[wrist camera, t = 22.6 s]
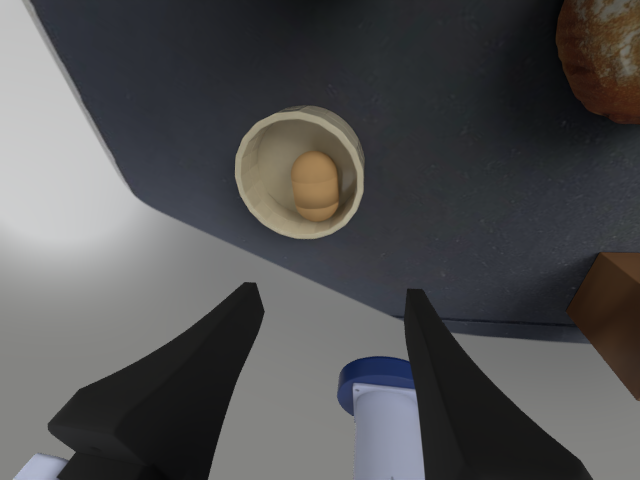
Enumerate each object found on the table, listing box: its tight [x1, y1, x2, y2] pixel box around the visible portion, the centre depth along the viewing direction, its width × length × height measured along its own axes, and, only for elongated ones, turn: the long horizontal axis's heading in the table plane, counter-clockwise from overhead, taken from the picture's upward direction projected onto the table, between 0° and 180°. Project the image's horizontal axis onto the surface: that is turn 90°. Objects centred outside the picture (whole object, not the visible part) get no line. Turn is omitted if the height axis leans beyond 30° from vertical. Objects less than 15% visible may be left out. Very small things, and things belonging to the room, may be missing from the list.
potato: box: [291, 151, 339, 222], centre depth 18 cm, size 5×3×3 cm, turn 5°
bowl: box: [235, 105, 365, 239], centre depth 18 cm, size 8×8×4 cm
